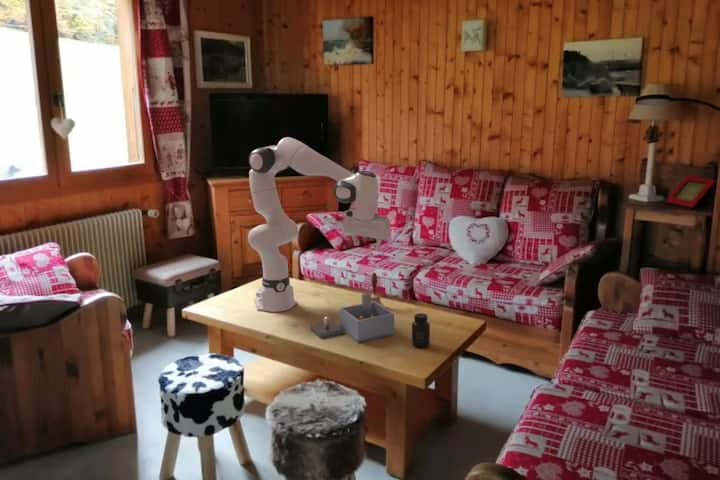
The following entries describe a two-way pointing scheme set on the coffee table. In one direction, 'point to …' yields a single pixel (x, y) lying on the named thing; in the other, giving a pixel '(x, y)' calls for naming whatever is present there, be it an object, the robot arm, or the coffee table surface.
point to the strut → (366, 307)
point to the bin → (367, 322)
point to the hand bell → (374, 296)
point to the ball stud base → (326, 328)
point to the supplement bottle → (420, 331)
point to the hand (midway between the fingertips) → (366, 247)
